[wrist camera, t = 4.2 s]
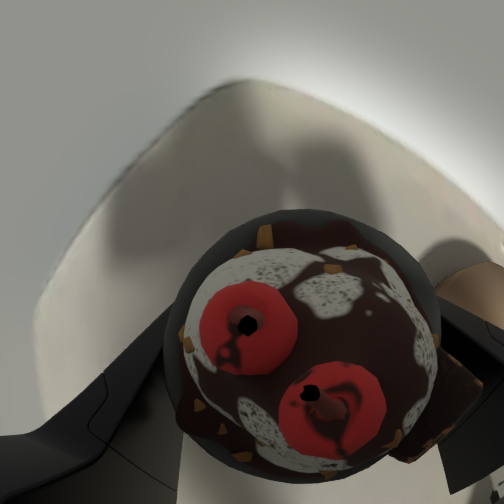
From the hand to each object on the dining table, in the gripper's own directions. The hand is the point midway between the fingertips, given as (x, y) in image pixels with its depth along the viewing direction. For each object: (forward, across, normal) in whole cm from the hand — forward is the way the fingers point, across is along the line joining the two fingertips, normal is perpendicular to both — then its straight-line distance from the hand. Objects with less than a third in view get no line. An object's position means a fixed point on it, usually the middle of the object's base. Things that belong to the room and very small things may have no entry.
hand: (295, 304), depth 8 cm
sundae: (+4, 0, +6) cm, 8 cm away
